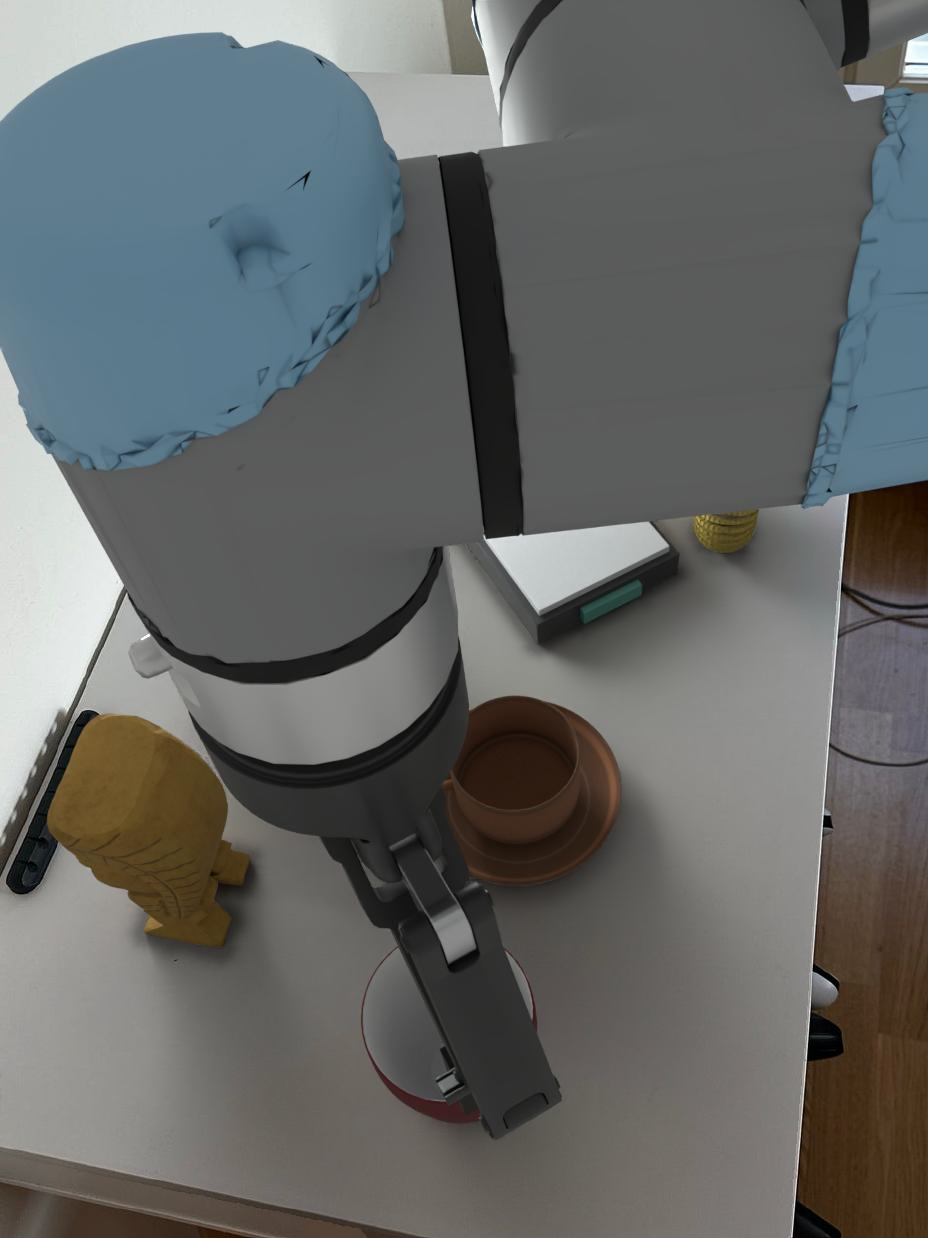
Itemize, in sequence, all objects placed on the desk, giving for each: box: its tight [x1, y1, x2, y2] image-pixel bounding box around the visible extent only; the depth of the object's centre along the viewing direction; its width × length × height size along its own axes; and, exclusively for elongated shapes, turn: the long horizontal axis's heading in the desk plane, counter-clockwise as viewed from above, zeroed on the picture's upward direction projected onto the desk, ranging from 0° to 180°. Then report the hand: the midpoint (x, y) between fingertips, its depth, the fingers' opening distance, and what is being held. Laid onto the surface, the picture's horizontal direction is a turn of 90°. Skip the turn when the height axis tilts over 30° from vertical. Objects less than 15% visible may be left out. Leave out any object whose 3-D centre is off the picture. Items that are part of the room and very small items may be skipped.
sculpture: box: [692, 509, 760, 554], centre depth 79 cm, size 8×4×8 cm, turn 168°
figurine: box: [46, 713, 251, 949], centre depth 64 cm, size 7×7×15 cm
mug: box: [360, 945, 538, 1125], centre depth 60 cm, size 10×8×10 cm
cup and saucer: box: [441, 695, 622, 887], centre depth 70 cm, size 12×12×6 cm
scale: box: [465, 521, 681, 645], centre depth 81 cm, size 11×11×3 cm
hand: (411, 937), depth 50 cm, fingers open, 13 cm apart
